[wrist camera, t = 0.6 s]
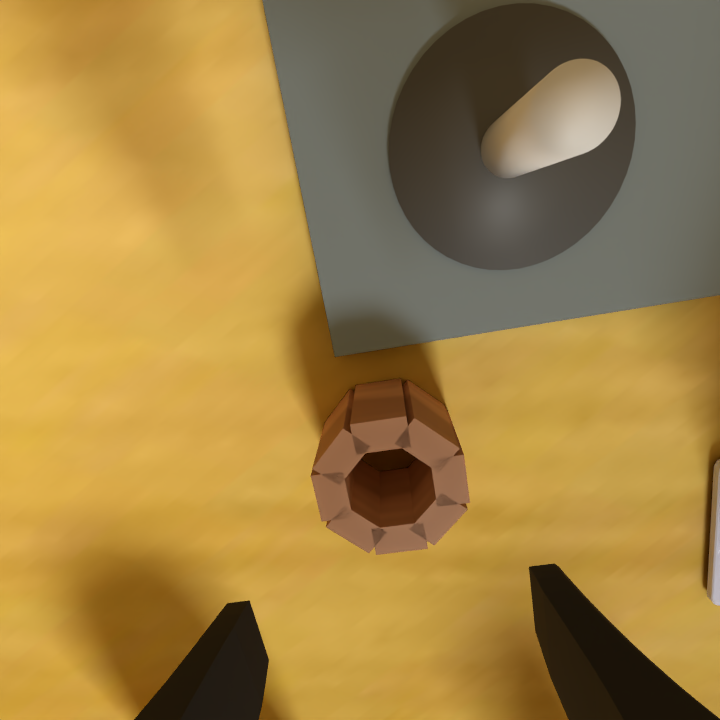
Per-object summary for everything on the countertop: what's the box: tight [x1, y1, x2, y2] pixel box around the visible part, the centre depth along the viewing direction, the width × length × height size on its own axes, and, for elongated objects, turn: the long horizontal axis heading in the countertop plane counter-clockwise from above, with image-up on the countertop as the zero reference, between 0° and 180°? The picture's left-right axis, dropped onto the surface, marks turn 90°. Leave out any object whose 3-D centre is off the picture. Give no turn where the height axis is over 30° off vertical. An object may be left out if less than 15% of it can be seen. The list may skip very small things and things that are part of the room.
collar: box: [311, 378, 470, 555], centre depth 18 cm, size 6×6×4 cm
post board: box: [263, 0, 720, 357], centre depth 13 cm, size 15×13×7 cm
